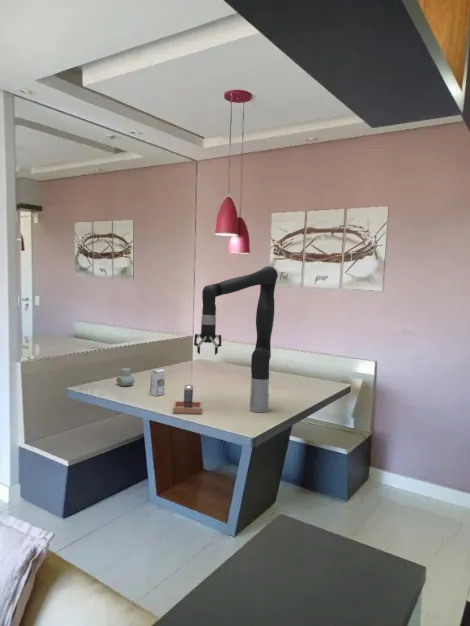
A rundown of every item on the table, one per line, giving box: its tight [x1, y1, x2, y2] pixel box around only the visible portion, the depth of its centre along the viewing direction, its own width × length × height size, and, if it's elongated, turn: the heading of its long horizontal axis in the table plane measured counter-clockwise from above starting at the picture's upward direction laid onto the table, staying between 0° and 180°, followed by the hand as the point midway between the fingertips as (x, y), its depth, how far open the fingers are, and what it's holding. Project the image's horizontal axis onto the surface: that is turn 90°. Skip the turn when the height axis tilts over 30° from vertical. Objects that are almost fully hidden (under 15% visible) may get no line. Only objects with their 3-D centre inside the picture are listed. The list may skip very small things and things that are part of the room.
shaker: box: [183, 384, 194, 408], centre depth 238 cm, size 5×5×12 cm
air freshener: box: [116, 367, 135, 387], centre depth 284 cm, size 11×8×10 cm
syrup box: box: [149, 368, 166, 397], centre depth 265 cm, size 6×6×14 cm
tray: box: [172, 400, 203, 415], centre depth 238 cm, size 14×12×3 cm
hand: (207, 354), depth 245 cm, fingers open, 8 cm apart
